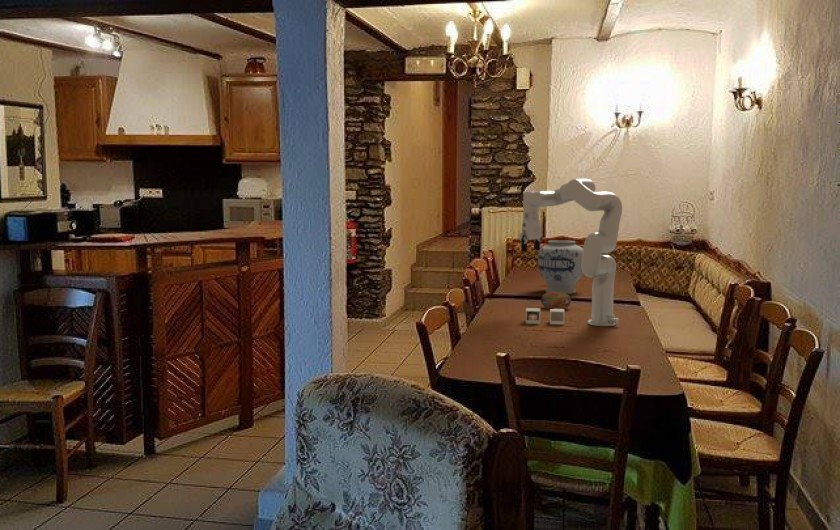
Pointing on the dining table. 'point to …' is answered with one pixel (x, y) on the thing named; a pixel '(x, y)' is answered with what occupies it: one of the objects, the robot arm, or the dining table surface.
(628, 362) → the dining table surface
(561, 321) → the cream cube
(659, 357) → the dining table surface
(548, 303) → the tin
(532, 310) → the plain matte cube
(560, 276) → the apothecary jar
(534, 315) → the letter block
